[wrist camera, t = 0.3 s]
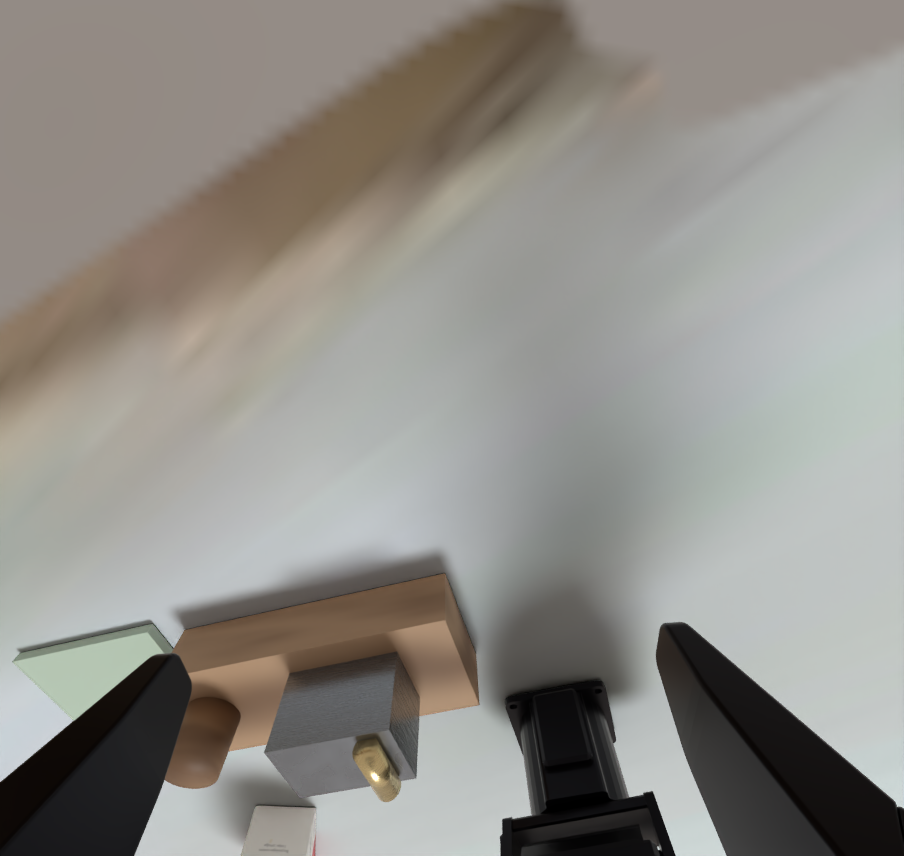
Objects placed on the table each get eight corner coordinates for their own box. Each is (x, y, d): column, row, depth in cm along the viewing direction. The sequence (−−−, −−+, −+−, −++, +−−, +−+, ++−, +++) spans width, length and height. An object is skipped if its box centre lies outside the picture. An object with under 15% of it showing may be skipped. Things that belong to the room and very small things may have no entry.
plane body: (476, 654, 30) (483, 762, 24) (239, 701, 32) (196, 811, 26) (445, 573, 27) (445, 675, 21) (184, 630, 29) (122, 737, 23)
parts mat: (225, 714, 32) (222, 723, 32) (106, 737, 33) (101, 746, 33) (152, 623, 28) (147, 632, 28) (20, 653, 29) (12, 661, 29)
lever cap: (420, 698, 27) (415, 802, 22) (318, 717, 27) (294, 822, 23) (396, 651, 25) (386, 754, 20) (289, 673, 26) (256, 777, 21)
